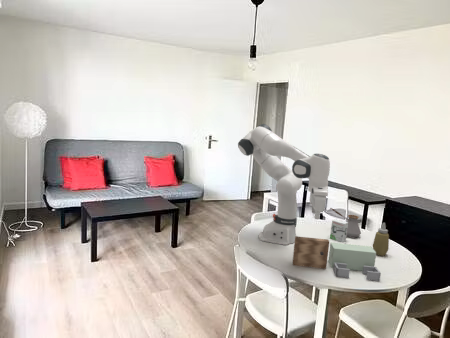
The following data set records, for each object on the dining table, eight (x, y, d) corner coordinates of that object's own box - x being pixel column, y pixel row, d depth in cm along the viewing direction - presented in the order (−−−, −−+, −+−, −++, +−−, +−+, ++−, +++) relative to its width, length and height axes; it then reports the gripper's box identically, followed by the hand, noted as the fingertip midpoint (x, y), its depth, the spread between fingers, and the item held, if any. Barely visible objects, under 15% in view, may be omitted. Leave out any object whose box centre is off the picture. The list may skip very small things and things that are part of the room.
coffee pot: (362, 235, 211) (365, 213, 209) (356, 240, 203) (360, 217, 200) (330, 227, 225) (333, 205, 222) (323, 231, 216) (326, 209, 213)
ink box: (329, 238, 204) (331, 219, 202) (332, 236, 207) (335, 218, 205) (342, 242, 198) (345, 223, 196) (346, 240, 202) (348, 222, 200)
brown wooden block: (293, 266, 162) (296, 239, 159) (292, 262, 166) (295, 236, 164) (326, 270, 160) (329, 242, 158) (324, 266, 164) (328, 239, 162)
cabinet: (380, 281, 152) (383, 260, 150) (335, 276, 154) (338, 256, 152) (368, 264, 169) (371, 246, 167) (328, 260, 171) (330, 242, 169)
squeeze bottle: (386, 258, 178) (391, 226, 175) (370, 254, 183) (375, 223, 180) (388, 253, 185) (393, 222, 182) (372, 249, 189) (377, 219, 186)
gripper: (308, 183, 168) (305, 209, 170) (314, 192, 148) (311, 221, 150) (320, 184, 167) (318, 210, 170) (328, 193, 147) (325, 223, 149)
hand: (315, 216), depth 160 cm, fingers open, 8 cm apart
